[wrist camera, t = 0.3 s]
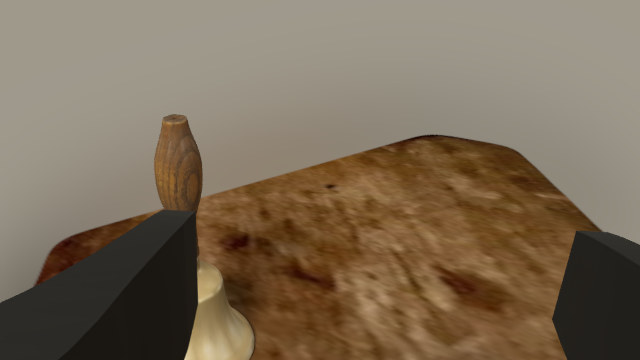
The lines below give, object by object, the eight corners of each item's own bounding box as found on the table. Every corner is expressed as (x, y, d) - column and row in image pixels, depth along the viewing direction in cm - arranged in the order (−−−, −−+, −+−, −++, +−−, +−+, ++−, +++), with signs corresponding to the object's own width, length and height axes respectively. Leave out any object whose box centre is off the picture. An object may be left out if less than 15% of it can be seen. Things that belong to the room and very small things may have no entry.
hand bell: (260, 306, 41) (255, 94, 34) (247, 396, 34) (239, 149, 27) (144, 304, 41) (116, 90, 34) (107, 394, 33) (60, 145, 26)
